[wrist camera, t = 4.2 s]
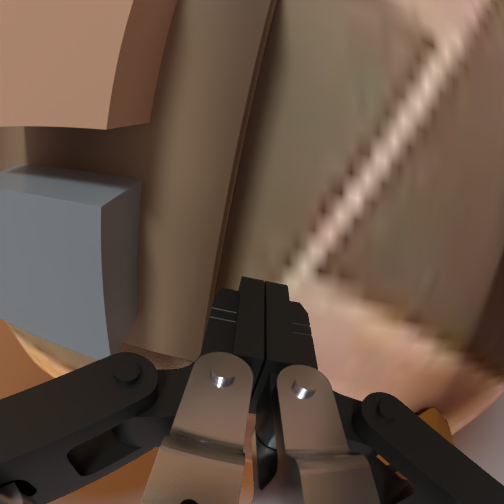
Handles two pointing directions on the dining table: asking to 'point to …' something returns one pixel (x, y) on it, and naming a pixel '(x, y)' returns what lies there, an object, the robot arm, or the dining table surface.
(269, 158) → the dining table surface
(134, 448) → the robot arm
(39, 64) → the terracotta tile
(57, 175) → the slate tile
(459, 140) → the dining table surface
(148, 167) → the grey brown flat block
